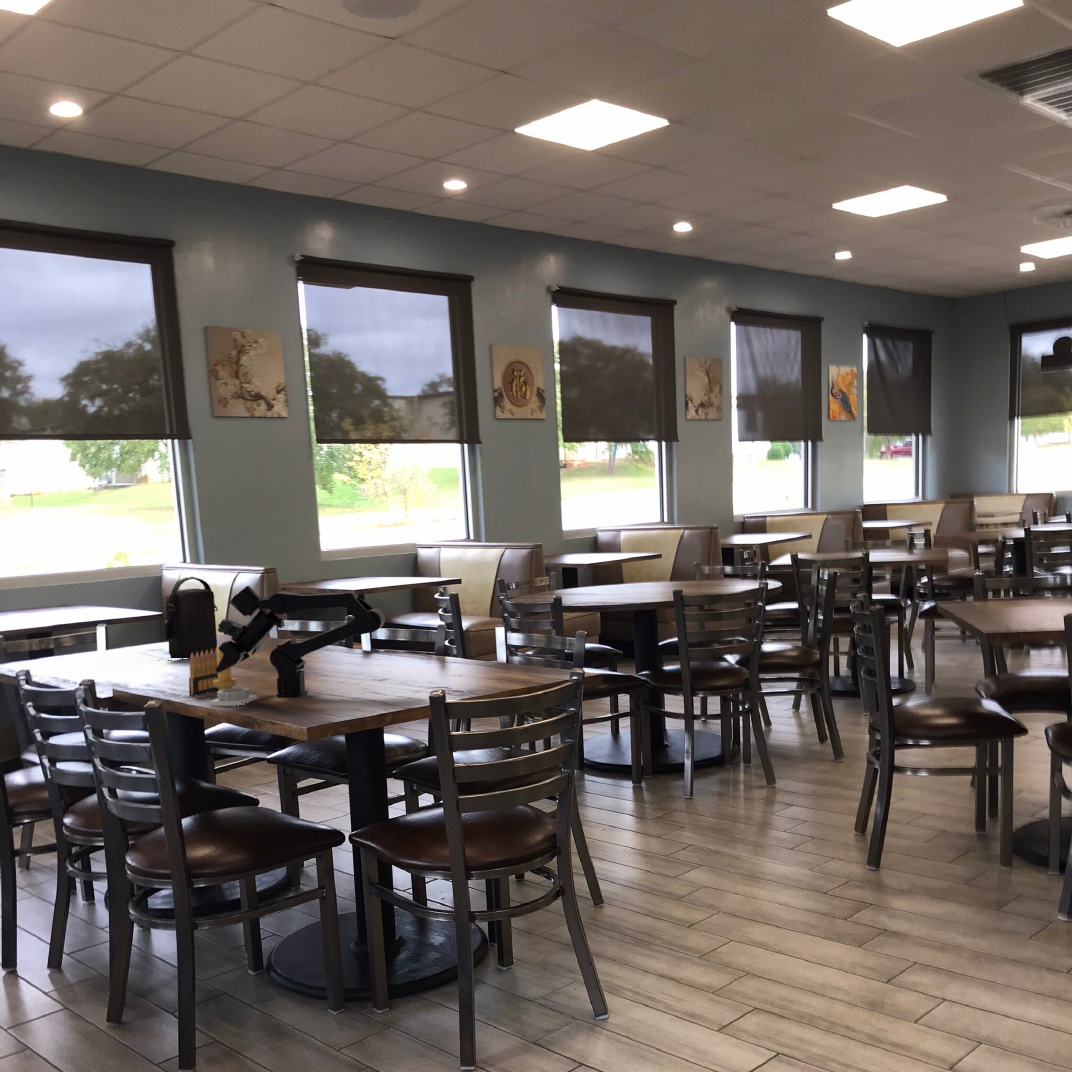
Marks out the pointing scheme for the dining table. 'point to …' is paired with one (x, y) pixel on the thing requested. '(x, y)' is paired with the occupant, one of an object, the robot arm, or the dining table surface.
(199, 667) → the ammunition clip
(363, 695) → the dining table surface
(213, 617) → the shoulder bag
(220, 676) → the tan peg
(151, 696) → the dining table surface
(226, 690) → the housing
